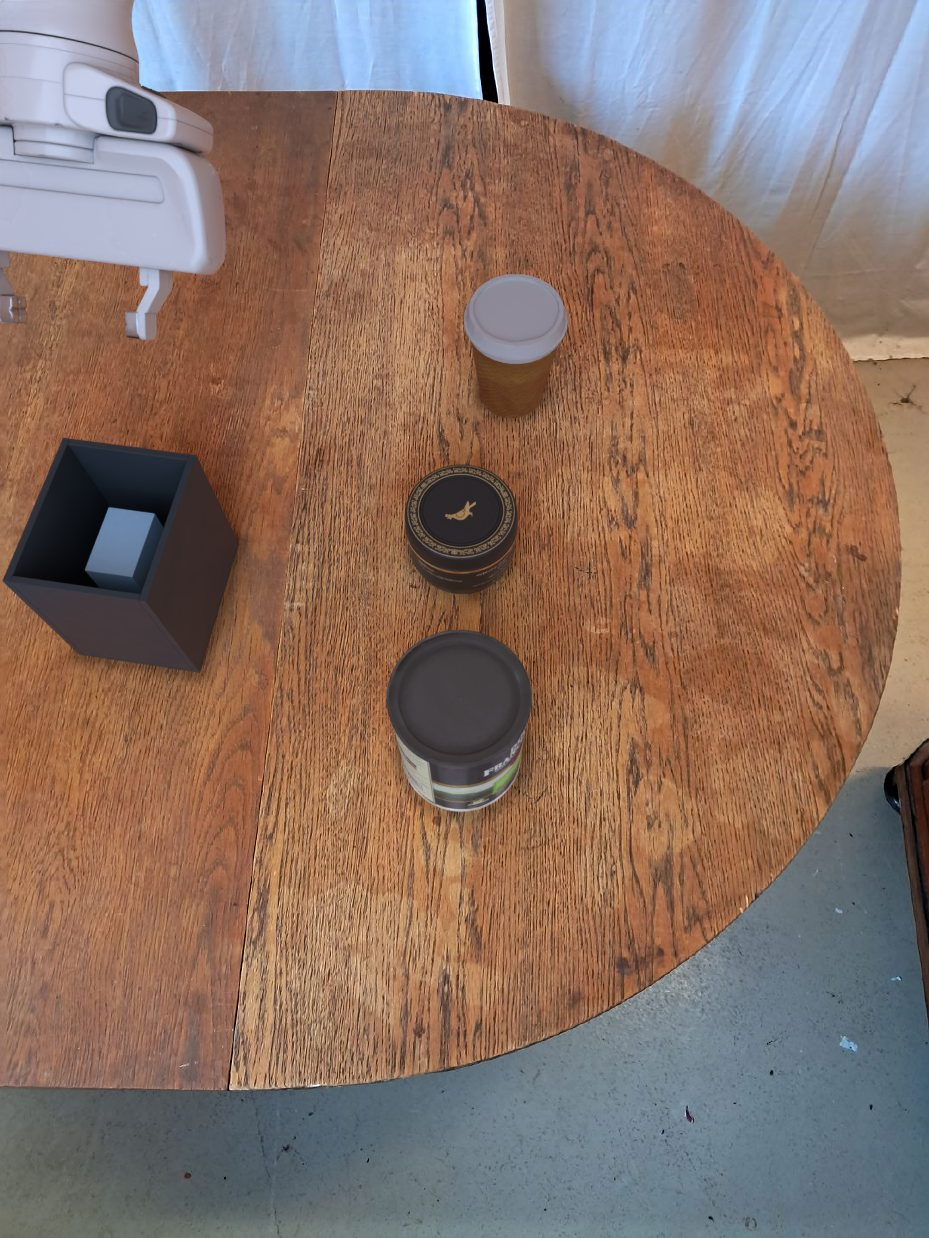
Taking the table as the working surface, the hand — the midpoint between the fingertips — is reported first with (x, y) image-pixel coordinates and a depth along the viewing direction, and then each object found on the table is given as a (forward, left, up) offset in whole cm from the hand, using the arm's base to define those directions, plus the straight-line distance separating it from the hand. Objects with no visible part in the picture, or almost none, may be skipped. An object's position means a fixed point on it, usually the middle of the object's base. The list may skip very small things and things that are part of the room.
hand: (75, 330), depth 62 cm
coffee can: (+30, -18, -26) cm, 44 cm away
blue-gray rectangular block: (0, -8, -25) cm, 27 cm away
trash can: (0, -8, -26) cm, 27 cm away
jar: (+27, +1, -26) cm, 37 cm away
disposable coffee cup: (+29, +20, -26) cm, 44 cm away
